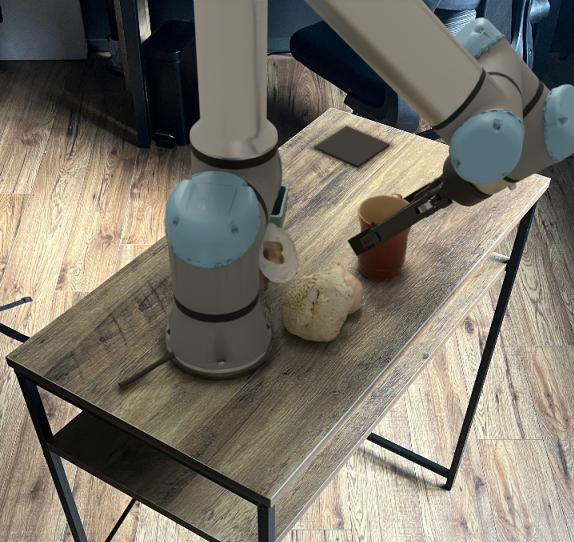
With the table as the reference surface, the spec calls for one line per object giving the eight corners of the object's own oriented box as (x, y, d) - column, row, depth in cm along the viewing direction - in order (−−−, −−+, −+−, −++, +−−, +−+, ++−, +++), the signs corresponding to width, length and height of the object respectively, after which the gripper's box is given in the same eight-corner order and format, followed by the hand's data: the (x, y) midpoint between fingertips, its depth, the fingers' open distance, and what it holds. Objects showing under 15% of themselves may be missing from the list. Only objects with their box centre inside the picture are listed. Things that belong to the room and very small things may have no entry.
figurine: (314, 239, 123) (234, 248, 131) (282, 195, 115) (199, 207, 123) (296, 302, 120) (215, 307, 128) (262, 261, 112) (177, 269, 120)
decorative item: (285, 360, 121) (255, 298, 119) (325, 336, 126) (297, 275, 123) (336, 344, 111) (304, 275, 109) (377, 319, 116) (348, 252, 113)
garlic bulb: (317, 319, 124) (341, 289, 128) (355, 325, 121) (378, 294, 125) (309, 281, 119) (334, 251, 123) (349, 286, 116) (373, 255, 120)
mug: (399, 292, 127) (408, 234, 118) (345, 279, 128) (350, 221, 120) (417, 248, 134) (427, 191, 125) (366, 237, 135) (372, 179, 127)
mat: (357, 167, 148) (357, 165, 148) (314, 148, 152) (314, 146, 152) (389, 145, 153) (389, 143, 153) (346, 127, 157) (346, 125, 156)
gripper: (444, 236, 104) (343, 287, 122) (540, 156, 116) (435, 212, 134) (415, 183, 102) (316, 242, 120) (515, 106, 114) (412, 171, 132)
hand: (379, 227), depth 127 cm, fingers open, 13 cm apart
